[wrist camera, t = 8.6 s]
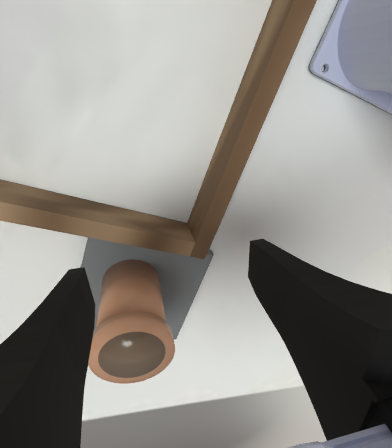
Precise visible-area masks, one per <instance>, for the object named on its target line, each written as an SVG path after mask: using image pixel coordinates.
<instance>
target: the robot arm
mask: <svg viewBox="0 0 392 448" xmlns="http://www.w3.org/2000/svg"><path fill="white" fill-rule="evenodd" d="M323 65H325V70H324V72H322V66H323ZM310 71H311V72H312V73H313V74H315V75H317V76H319V77H321V78H323V79H325V80H326V81H328V82H330V83H332V84H334V85H336V86H338V87H340V88H342V89H344V90H346V91H348V92H350V93H352V94H354V95H355V96H357V97H359V98H361V99H363V100H365V101H367V102H369V103H371V104H373V105H375V106H377V107H379V108H381V109H383V110H385V111H386V112H388V113H390V114H392V0H339V2H338V4H337V6H336V8H335V11H334V13H333V15H332V17H331V19H330V21H329V24H328V26H327V28H326V30H325V32H324V35H323V37H322V39H321V41H320V43H319V45H318V48H317V50H316V52H315V54H314V56H313V59H312V61H311V63H310ZM248 278H249V280H250V282H251V285H252V287H253V289H254V292H255V294H256V296H257V298H258V299H259V301H260V303H261V304H262V306H263V308H264V309H265V311H266V313H267V314H268V316H269V318H270V319H271V321H272V322H273V324H274V326H275V327H276V329H277V331H278V332H279V334H280V335H281V337H282V339H283V341H284V343H285V345H286V347H287V349H288V351H289V353H290V355H291V357H292V359H293V361H294V363H295V365H296V368H297V370H298V372H299V374H300V377H301V379H302V381H303V383H304V385H305V387H306V390H307V392H308V395H309V397H310V400H311V402H312V404H313V406H314V409H315V411H316V414H317V416H318V419H319V421H320V424H321V426H322V429H323V432H324V434H325V437H326V439H327V441H325V442H322V443H321V442H310V443H305V444H299V445H296V446H292V447H289V448H392V294H390V293H386V292H382V291H378V290H375V289H372V288H368V287H365V286H362V285H359V284H356V283H353V282H350V281H347V280H345V279H342V278H340V277H337V276H335V275H332V274H330V273H327V272H325V271H323V270H321V269H319V268H317V267H314V266H312V265H310V264H308V263H306V262H304V261H302V260H301V259H299V258H297V257H295V256H293V255H291V254H290V253H288V252H286V251H284V250H282V249H281V248H279V247H277V246H275V245H274V244H272V243H270V242H268V241H266V240H264V239H259V240H253V241H250V252H249V270H248ZM94 326H95V302H94V298H93V295H92V291H91V288H90V284H89V281H88V277H87V274H86V271H85V267H83V268H77V269H71V270H68V272H67V273H66V274H65V275H64V276H63V278H62V279H61V280H60V281H59V283H58V284H57V285H56V286H55V287H54V289H53V290H52V291H51V292H50V294H49V295H48V296H47V297H46V298H45V299H44V301H43V302H42V303H41V304H40V305H39V306H38V308H37V309H36V310H35V311H34V312H33V313H32V314H31V315H30V316H29V317H28V318H27V319H26V320H25V322H24V323H23V324H22V325H21V326H20V327H19V328H18V329H17V330H16V331H15V332H13V333H12V334H11V335H10V336H9V337H8V338H7V339H6V340H5V341H4V342H3V343H2V344H0V448H80V443H81V425H82V424H81V423H82V409H83V395H84V386H85V378H86V373H87V367H88V361H89V356H90V350H91V344H92V339H93V333H94Z"/></svg>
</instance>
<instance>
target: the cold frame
mask: <svg viewBox="0 0 392 448" xmlns="http://www.w3.org/2000/svg"><path fill="white" fill-rule="evenodd" d="M316 1H317V0H272V3H271V6H270V8H269V11H268V13H267V16H266V19H265V21H264V24H263V27H262V29H261V32H260V34H259V37H258V40H257V42H256V45H255V47H254V50H253V53H252V55H251V58H250V60H249V63H248V66H247V68H246V71H245V74H244V76H243V79H242V81H241V84H240V87H239V89H238V92H237V94H236V97H235V100H234V102H233V105H232V107H231V110H230V113H229V115H228V118H227V121H226V123H225V126H224V128H223V131H222V134H221V136H220V139H219V141H218V144H217V147H216V149H215V152H214V154H213V157H212V160H211V162H210V165H209V168H208V170H207V173H206V175H205V178H204V181H203V183H202V186H201V188H200V191H199V194H198V196H197V199H196V201H195V204H194V207H193V209H192V212H191V215H190V217H189V220H188V222H187V223H183V222H179V221H175V220H170V219H166V218H162V217H158V216H153V215H149V214H145V213H140V212H136V211H132V210H128V209H123V208H119V207H115V206H110V205H106V204H102V203H98V202H93V201H89V200H85V199H80V198H76V197H72V196H68V195H63V194H59V193H55V192H50V191H46V190H42V189H38V188H33V187H29V186H25V185H20V184H16V183H12V182H8V181H3V180H0V221H5V222H11V223H16V224H21V225H27V226H32V227H37V228H42V229H48V230H53V231H58V232H63V233H69V234H74V235H79V236H84V237H90V238H95V239H100V240H105V241H111V242H116V243H121V244H126V245H132V246H137V247H142V248H147V249H153V250H158V251H163V252H168V253H174V254H179V255H184V256H189V257H195V258H200V259H205V257H206V255H207V253H208V250H209V248H210V246H211V243H212V241H213V239H214V236H215V234H216V232H217V229H218V227H219V225H220V223H221V220H222V218H223V216H224V213H225V211H226V209H227V206H228V204H229V202H230V199H231V197H232V195H233V192H234V190H235V188H236V186H237V183H238V181H239V179H240V176H241V174H242V172H243V169H244V167H245V165H246V162H247V160H248V158H249V155H250V153H251V151H252V149H253V146H254V144H255V142H256V139H257V137H258V135H259V132H260V130H261V128H262V125H263V123H264V121H265V119H266V116H267V114H268V112H269V109H270V107H271V105H272V102H273V100H274V98H275V95H276V93H277V91H278V88H279V86H280V84H281V82H282V79H283V77H284V75H285V72H286V70H287V68H288V65H289V63H290V61H291V58H292V56H293V54H294V52H295V49H296V47H297V45H298V42H299V40H300V38H301V35H302V33H303V31H304V28H305V26H306V24H307V21H308V19H309V17H310V15H311V12H312V10H313V8H314V5H315V3H316Z"/></svg>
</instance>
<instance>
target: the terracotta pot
mask: <svg viewBox="0 0 392 448" xmlns="http://www.w3.org/2000/svg"><path fill="white" fill-rule="evenodd" d="M174 353H175V345H174V339H173V334H172V330H171V327H170V326H169V324H168V323H167V322H166V319H165V313H164V306H163V300H162V294H161V287H160V281H159V276H158V273H157V271H156V270H155V268H154V267H153V266H151V265H150V264H148V263H146V262H144V261H141V260H132V259H131V260H124V261H120V262H118V263H116V264H114V265H112V266H111V267H110V268H109V269H108V270H107V271H106V272H105V274H104V276H103V279H102V285H101V293H100V302H99V310H98V318H97V327H96V329H95V330H94V333H93V339H92V344H91V350H90V356H89V361H88V365H89V367H90V369H91V371H92V372H93V373H94V374H95V375H97V376H98V377H100V378H101V379H103V380H106V381H109V382H114V383H135V382H140V381H143V380H146V379H149V378H151V377H153V376H155V375H157V374H159V373H160V372H161V371H163V370H164V369H165V368H166V367H167V366H168V365H169V363H170V362H171V360H172V359H173V356H174Z"/></svg>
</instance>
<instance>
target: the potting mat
mask: <svg viewBox="0 0 392 448" xmlns="http://www.w3.org/2000/svg"><path fill="white" fill-rule="evenodd" d="M212 257H213V253H212V251H209V250H208V253H207V255H206V257H205V259H200V258H195V257H189V256H184V255H179V254H174V253H168V252H163V251H158V250H153V249H147V248H142V247H137V246H132V245H126V244H121V243H116V242H111V241H105V240H100V239H95V238H90V237H88V240H87V244H86V248H85V253H84V257H83V261H82V265H81V268H83V267H85V271H86V274H87V277H88V281H89V284H90V288H91V291H92V295H93V298H94V302H95V326H94V330H95V329H96V327H97V318H98V310H99V302H100V293H101V285H102V279H103V276H104V274H105V272H106V271H107V270H108V269H109V268H110V267H111V266H112V265H114V264H116V263H118V262H120V261H124V260H131V259H132V260H141V261H144V262H146V263H148V264H150V265H151V266H153V267H154V268H155V270H156V271H157V273H158V276H159V281H160V287H161V294H162V300H163V306H164V313H165V319H166V322H167V323H168V324H169V326H170V327H171V330H172V334H173V339H176V338H177V336H178V334H179V331H180V329H181V327H182V325H183V322H184V320H185V318H186V316H187V313H188V311H189V309H190V307H191V304H192V302H193V300H194V298H195V295H196V293H197V291H198V289H199V286H200V284H201V282H202V280H203V277H204V275H205V273H206V271H207V268H208V266H209V264H210V262H211V259H212Z"/></svg>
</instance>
